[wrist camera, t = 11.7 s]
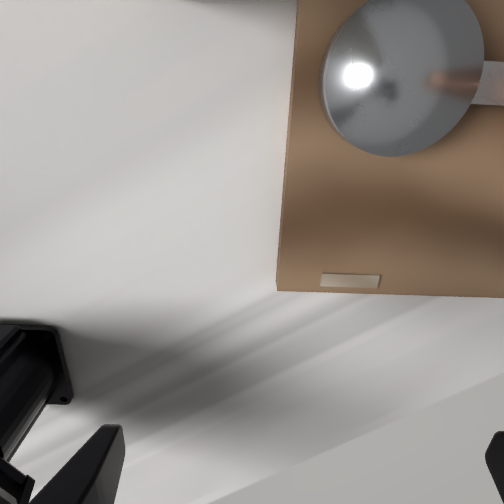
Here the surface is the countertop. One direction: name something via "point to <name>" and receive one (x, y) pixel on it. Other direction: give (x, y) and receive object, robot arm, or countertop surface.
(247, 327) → the countertop surface
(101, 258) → the countertop surface
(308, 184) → the stand
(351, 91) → the grey ball copper handle
